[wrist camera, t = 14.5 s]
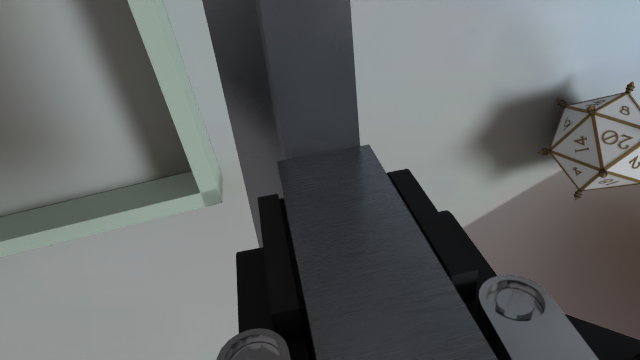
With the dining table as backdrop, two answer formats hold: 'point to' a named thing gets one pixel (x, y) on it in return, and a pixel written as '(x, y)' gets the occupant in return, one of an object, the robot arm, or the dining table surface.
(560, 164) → the game die
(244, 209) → the dining table surface
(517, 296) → the robot arm
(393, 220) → the rake
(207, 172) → the sage pen
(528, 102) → the dining table surface
